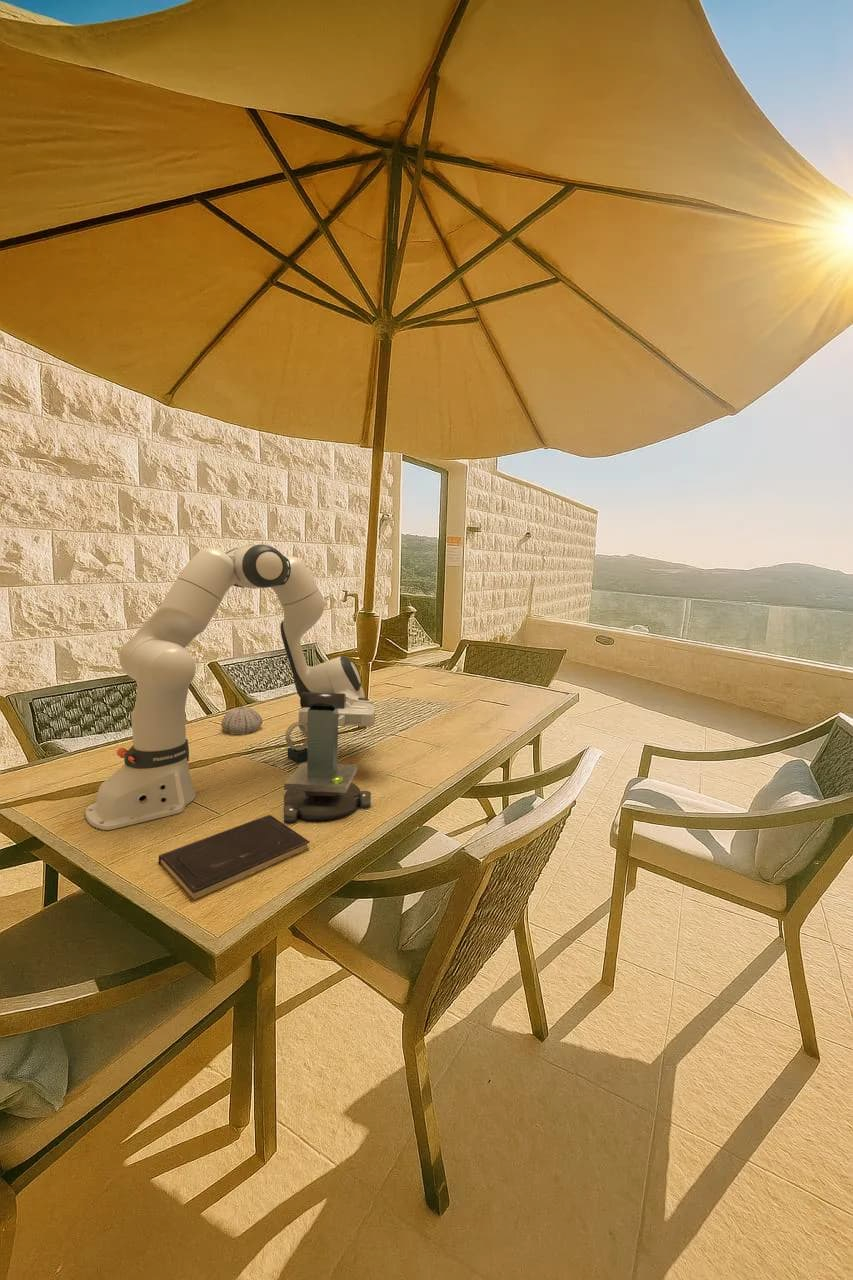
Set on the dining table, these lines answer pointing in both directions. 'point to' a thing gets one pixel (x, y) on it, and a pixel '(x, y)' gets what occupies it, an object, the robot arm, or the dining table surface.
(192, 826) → the dining table surface
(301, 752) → the watch
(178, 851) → the hardcover book
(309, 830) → the dining table surface
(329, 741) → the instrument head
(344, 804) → the tribrach base
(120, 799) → the robot arm
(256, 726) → the sea urchin shell
